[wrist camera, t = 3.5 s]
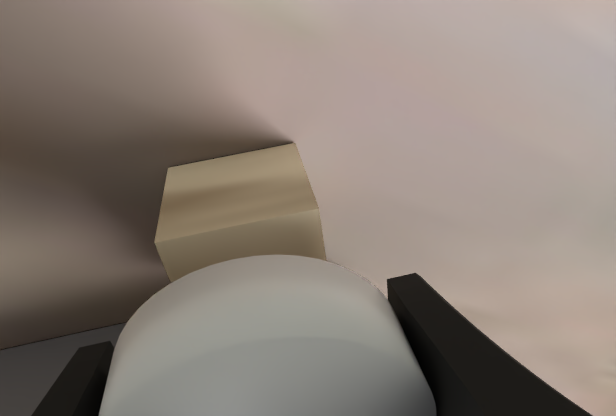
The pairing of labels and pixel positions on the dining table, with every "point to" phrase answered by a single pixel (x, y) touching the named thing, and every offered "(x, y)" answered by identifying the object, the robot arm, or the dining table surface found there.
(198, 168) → the beige cube
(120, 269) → the dining table surface
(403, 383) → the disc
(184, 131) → the dining table surface
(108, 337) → the block
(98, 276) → the dining table surface
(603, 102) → the dining table surface
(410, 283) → the robot arm
